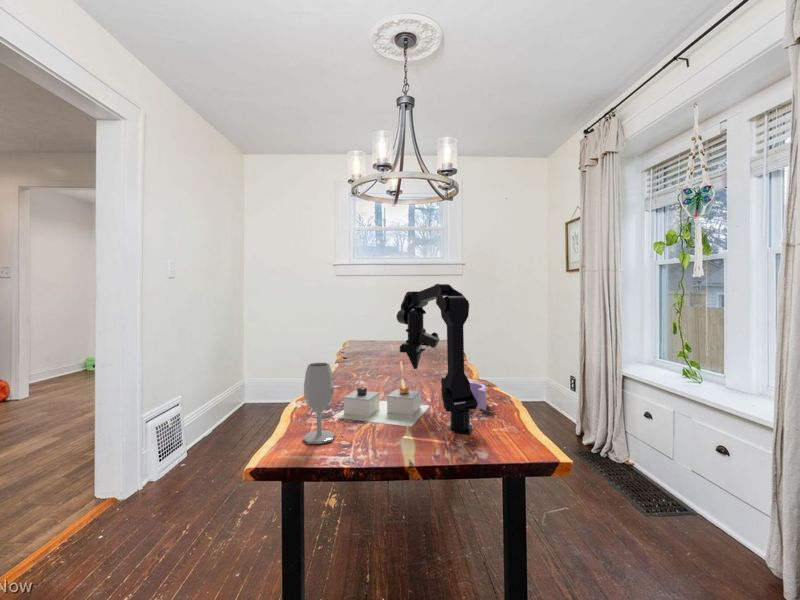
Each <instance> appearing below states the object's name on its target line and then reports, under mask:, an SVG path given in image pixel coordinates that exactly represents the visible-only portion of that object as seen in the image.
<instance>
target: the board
mask: <svg viewBox="0 0 800 600" xmlns="http://www.w3.org/2000/svg"><path fill="white" fill-rule="evenodd" d="M379 404H380V409H379V410H378V411H376V412H375V413H374V414H373V415H371V416H370V417H362V416H353V415H345V414H344V409H342V410H340V411H339V412H338V413H336V414H334V415H333V416H332V418H337V419H343V420H344V419H345V420H353V421H361V422H369V423H377V424H386V425H392V426H393V425H395V426H400V427H410V428H412V427H413V426H414V425H415V423H417V421H418V420H419V419H420V418H421V417H422V415H424V413H426V411H427V410H428V409H429V408H430V405H428V404H427V405H426V404H421V408H420V409H419V410H418V411H417V412H416V413H415V414H414V415H413V416H409V415H400V414H391V413H387V400H379Z"/></svg>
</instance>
